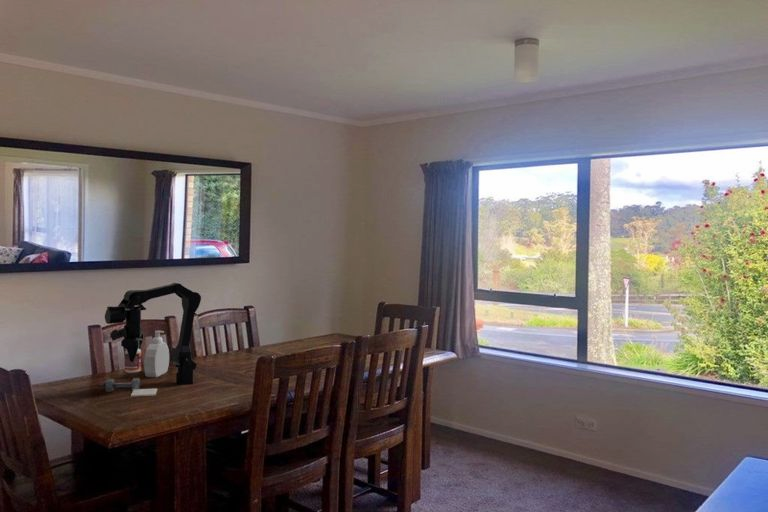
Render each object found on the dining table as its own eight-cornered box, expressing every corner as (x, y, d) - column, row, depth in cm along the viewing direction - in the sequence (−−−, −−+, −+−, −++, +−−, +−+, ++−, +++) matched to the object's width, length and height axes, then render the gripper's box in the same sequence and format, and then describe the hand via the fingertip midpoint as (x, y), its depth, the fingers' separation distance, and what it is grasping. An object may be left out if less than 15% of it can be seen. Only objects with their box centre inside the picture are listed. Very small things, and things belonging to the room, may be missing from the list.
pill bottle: (142, 371, 242) (142, 344, 242) (125, 373, 239) (126, 346, 238) (139, 368, 247) (139, 342, 247) (123, 370, 244) (123, 343, 244)
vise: (140, 385, 252) (140, 376, 252) (138, 390, 245) (138, 380, 244) (101, 387, 248) (101, 377, 248) (97, 392, 240) (97, 382, 240)
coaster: (157, 389, 246) (157, 388, 246) (155, 395, 237) (155, 394, 237) (133, 390, 244) (133, 389, 244) (130, 396, 235) (130, 395, 235)
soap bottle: (155, 378, 265) (156, 333, 265) (143, 378, 265) (144, 333, 265) (170, 370, 281) (170, 328, 281) (158, 370, 281) (159, 328, 281)
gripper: (116, 318, 249) (115, 356, 250) (107, 325, 231) (107, 365, 232) (144, 318, 252) (144, 355, 253) (138, 325, 234) (137, 364, 235)
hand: (133, 359), depth 243 cm, fingers closed on pill bottle, 6 cm apart
